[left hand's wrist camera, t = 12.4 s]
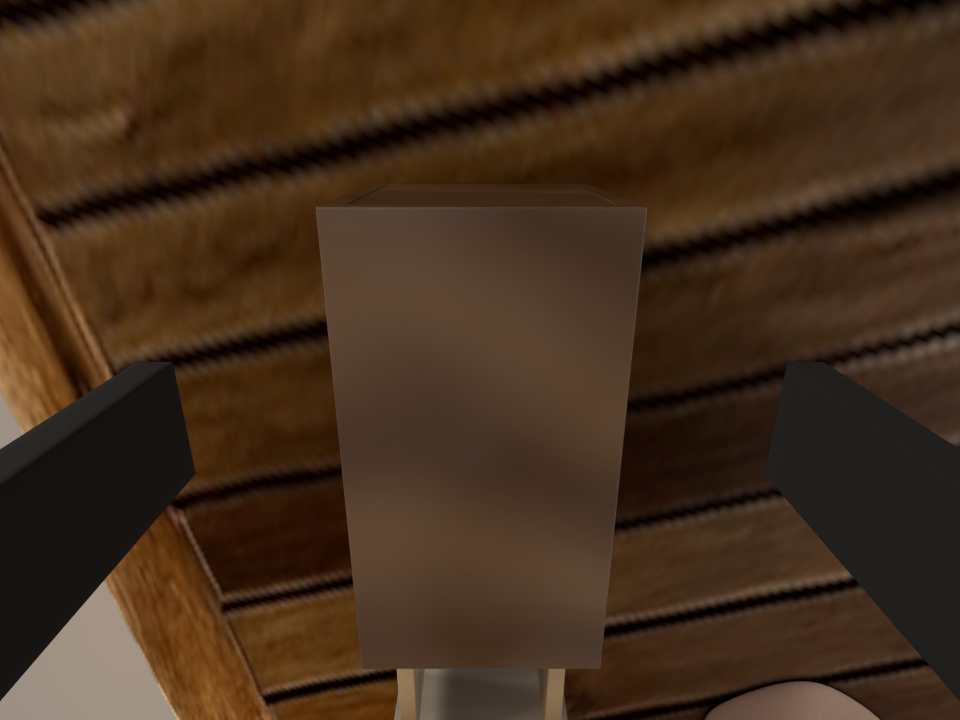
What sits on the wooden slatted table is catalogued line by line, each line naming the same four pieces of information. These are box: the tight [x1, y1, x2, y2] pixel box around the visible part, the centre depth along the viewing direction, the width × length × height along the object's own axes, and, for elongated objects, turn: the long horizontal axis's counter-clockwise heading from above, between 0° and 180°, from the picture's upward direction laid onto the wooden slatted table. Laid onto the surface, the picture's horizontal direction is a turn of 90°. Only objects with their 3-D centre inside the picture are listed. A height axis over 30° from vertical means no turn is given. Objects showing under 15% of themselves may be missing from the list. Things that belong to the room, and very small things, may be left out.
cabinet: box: [316, 183, 647, 669], centre depth 27 cm, size 20×10×11 cm, turn 0°
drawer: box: [394, 669, 568, 720], centre depth 31 cm, size 25×9×9 cm, turn 0°
